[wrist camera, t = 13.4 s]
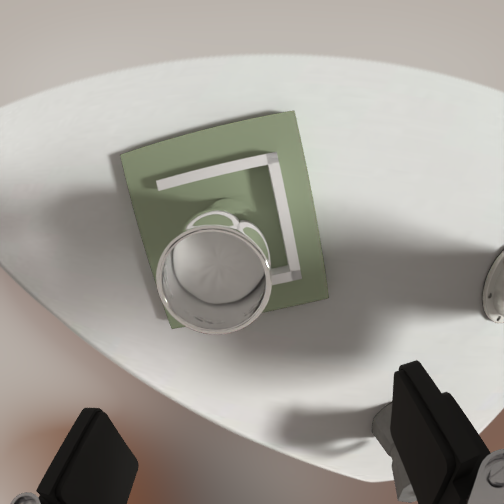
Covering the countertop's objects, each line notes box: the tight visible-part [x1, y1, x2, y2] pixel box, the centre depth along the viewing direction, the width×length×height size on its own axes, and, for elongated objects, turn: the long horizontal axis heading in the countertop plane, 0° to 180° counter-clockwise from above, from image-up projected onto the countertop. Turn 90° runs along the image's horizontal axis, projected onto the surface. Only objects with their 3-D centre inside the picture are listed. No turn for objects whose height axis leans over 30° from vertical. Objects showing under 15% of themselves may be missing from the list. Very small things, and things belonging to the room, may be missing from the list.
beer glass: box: [156, 198, 272, 334], centre depth 25 cm, size 7×7×15 cm
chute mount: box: [120, 111, 329, 329], centre depth 32 cm, size 18×20×4 cm
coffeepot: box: [372, 403, 417, 503], centre depth 34 cm, size 15×9×18 cm, turn 30°
